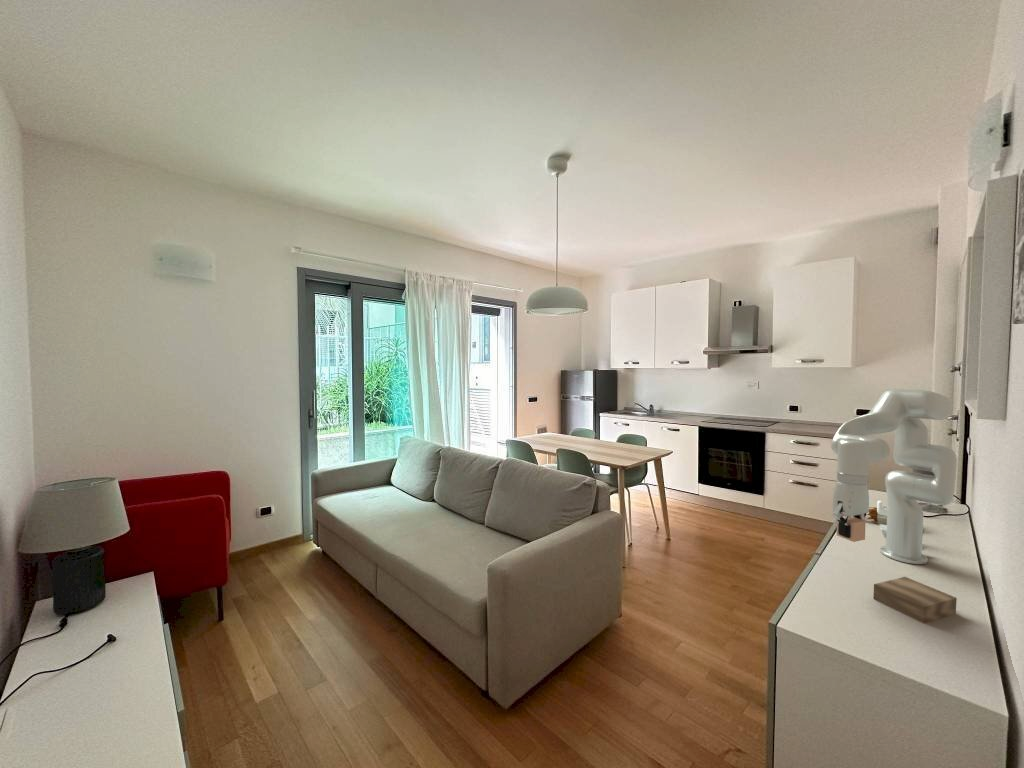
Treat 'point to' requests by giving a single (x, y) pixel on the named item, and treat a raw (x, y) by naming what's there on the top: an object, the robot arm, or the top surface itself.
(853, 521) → the peach block
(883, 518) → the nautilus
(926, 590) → the walnut plinth
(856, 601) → the top surface
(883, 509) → the figurine
